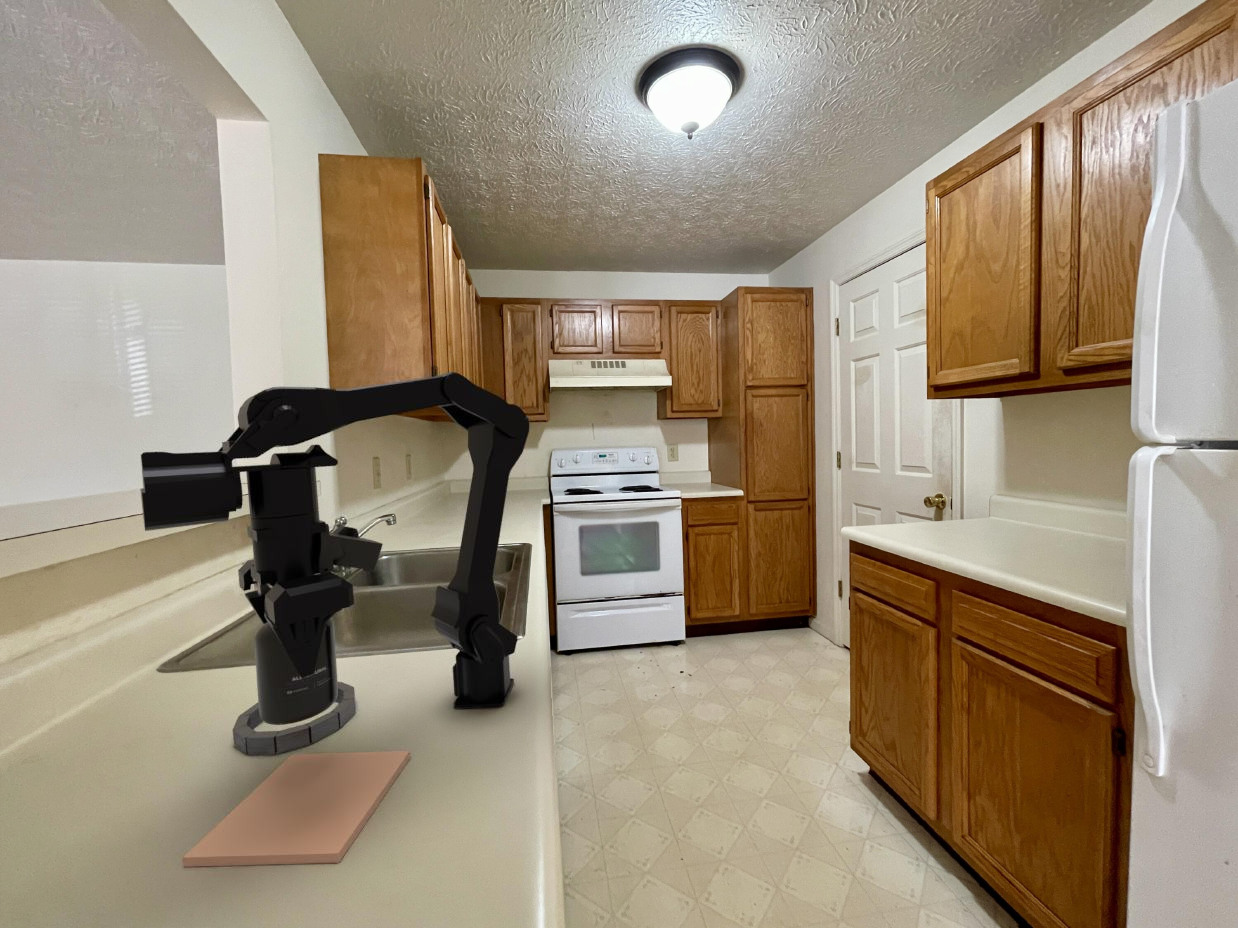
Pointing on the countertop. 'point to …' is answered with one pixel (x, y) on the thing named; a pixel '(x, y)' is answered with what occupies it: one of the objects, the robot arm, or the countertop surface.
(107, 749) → the countertop surface
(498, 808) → the countertop surface
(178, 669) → the countertop surface
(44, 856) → the countertop surface
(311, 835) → the tile
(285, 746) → the collar
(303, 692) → the supplement bottle
